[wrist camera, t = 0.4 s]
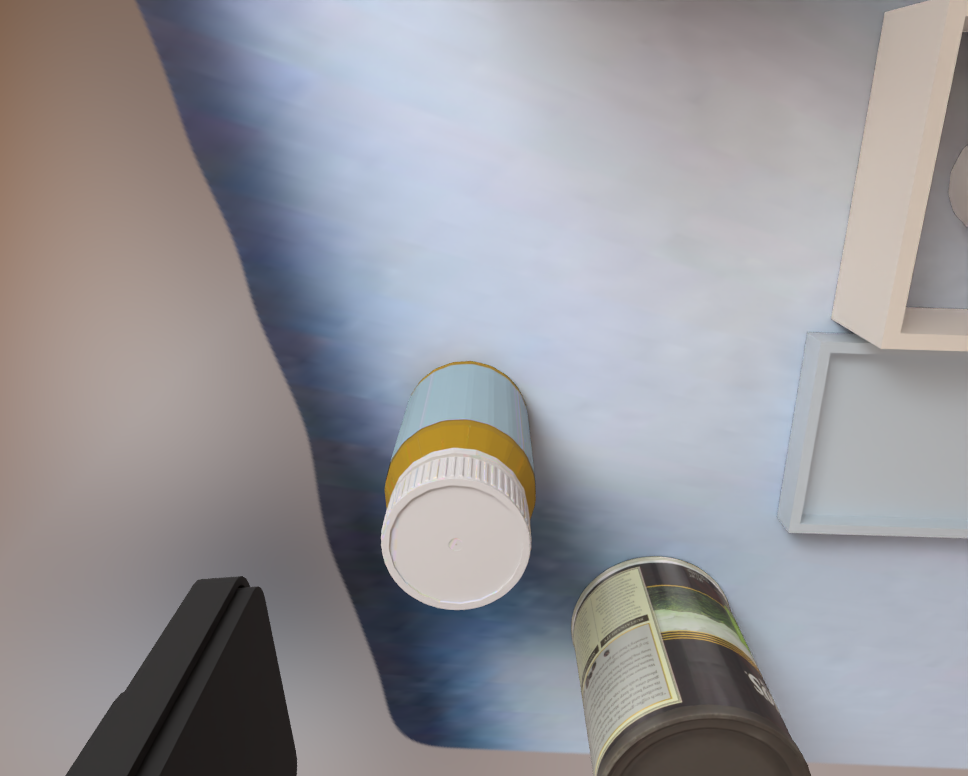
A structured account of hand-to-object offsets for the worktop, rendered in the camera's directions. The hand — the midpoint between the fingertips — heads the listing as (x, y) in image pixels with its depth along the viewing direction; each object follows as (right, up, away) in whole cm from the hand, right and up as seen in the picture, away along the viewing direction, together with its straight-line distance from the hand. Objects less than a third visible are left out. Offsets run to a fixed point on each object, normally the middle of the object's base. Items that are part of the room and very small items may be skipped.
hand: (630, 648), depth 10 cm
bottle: (-3, +2, +37) cm, 37 cm away
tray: (+25, +1, +36) cm, 44 cm away
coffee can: (+9, -12, +41) cm, 44 cm away
